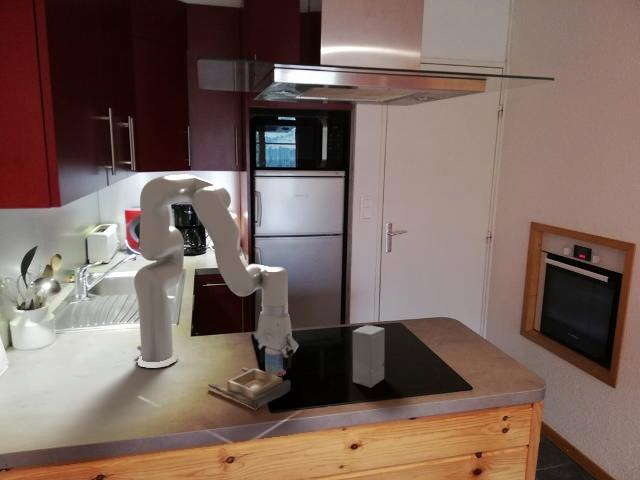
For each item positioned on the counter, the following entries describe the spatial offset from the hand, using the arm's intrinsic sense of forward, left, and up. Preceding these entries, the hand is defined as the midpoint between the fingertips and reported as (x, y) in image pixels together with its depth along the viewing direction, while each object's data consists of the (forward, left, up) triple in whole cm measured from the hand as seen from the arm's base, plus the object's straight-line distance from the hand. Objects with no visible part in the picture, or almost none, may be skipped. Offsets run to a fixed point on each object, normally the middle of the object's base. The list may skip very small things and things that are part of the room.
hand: (275, 364), depth 153 cm
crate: (+4, -13, -3) cm, 14 cm away
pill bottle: (0, 0, -4) cm, 4 cm away
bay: (+2, -13, -3) cm, 14 cm away
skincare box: (+24, +14, -4) cm, 28 cm away
